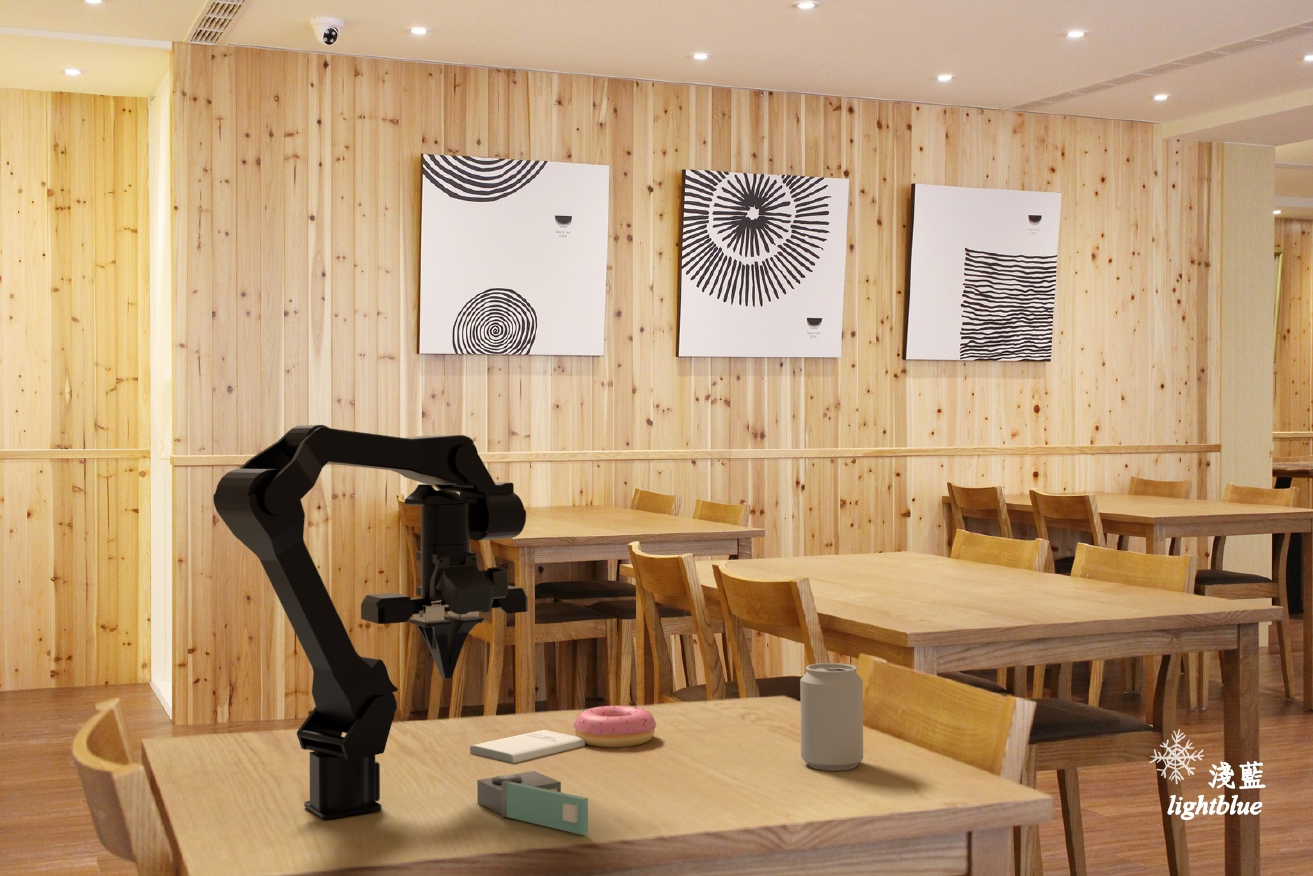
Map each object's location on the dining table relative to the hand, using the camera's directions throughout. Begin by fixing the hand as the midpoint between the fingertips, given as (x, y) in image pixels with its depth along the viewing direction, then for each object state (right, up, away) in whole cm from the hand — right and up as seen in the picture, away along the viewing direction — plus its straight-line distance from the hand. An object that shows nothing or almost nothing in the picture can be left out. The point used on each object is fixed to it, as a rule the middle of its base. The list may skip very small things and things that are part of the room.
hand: (446, 678), depth 154 cm
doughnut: (+19, -12, +22) cm, 31 cm away
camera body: (+9, -12, -9) cm, 18 cm away
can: (+45, -12, +7) cm, 48 cm away
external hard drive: (+8, -13, +17) cm, 22 cm away
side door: (+13, -12, -18) cm, 25 cm away
